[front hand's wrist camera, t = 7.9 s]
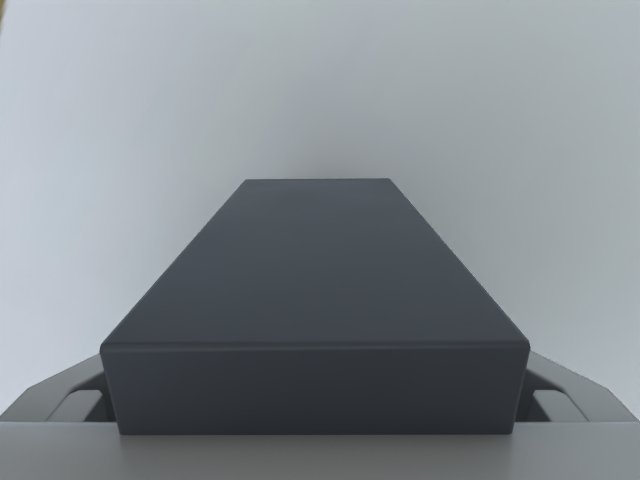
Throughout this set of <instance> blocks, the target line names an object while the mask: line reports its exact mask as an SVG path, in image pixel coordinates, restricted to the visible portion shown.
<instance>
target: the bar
mask: <svg viewBox="0 0 640 480" xmlns="http://www.w3.org/2000/svg"><path fill="white" fill-rule="evenodd" d="M529 353H530V344H529V341H528V339H527V338H526V337H525V336H524V335H523V334H522V332H521V331H520V330H519V329H518V328H517V327H516V325H515V324H514V323H513V322H512V321H511V320H510V318H509V317H508V316H507V315H506V314H505V313H504V311H503V310H502V309H501V308H500V307H499V306H498V304H497V303H496V302H495V301H494V300H493V299H492V297H491V296H490V295H489V294H488V293H487V292H486V290H485V289H484V288H483V287H482V286H481V285H480V283H479V282H478V281H477V280H476V279H475V278H474V276H473V275H472V274H471V273H470V272H469V271H468V269H467V268H466V267H465V266H464V265H463V264H462V262H461V261H460V260H459V259H458V258H457V257H456V255H455V254H454V253H453V252H452V251H451V250H450V248H449V247H448V246H447V245H446V244H445V243H444V241H443V240H442V239H441V238H440V237H439V236H438V234H437V233H436V232H435V231H434V230H433V229H432V227H431V226H430V225H429V224H428V223H427V222H426V220H425V219H424V218H423V217H422V216H421V215H420V213H419V212H418V211H417V210H416V209H415V208H414V206H413V205H412V204H411V203H410V202H409V201H408V199H407V198H406V197H405V196H404V195H403V194H402V192H401V191H400V190H399V189H398V188H397V187H396V185H395V184H394V183H393V182H392V181H391V180H390V179H388V178H383V179H255V180H245V181H244V182H243V183H242V184H241V185H240V187H239V188H238V189H237V190H236V191H235V192H234V193H233V195H232V196H231V197H230V198H229V199H228V200H227V201H226V202H225V204H224V205H223V206H222V207H221V208H220V209H219V210H218V212H217V213H216V214H215V215H214V216H213V217H212V218H211V220H210V221H209V222H208V223H207V224H206V225H205V226H204V228H203V229H202V230H201V231H200V232H199V233H198V234H197V236H196V237H195V238H194V239H193V240H192V241H191V242H190V244H189V245H188V246H187V247H186V248H185V249H184V250H183V251H182V253H181V254H180V255H179V256H178V257H177V258H176V259H175V261H174V262H173V263H172V264H171V265H170V266H169V267H168V269H167V270H166V271H165V272H164V273H163V274H162V275H161V277H160V278H159V279H158V280H157V281H156V282H155V283H154V285H153V286H152V287H151V288H150V289H149V290H148V291H147V293H146V294H145V295H144V296H143V297H142V298H141V299H140V300H139V302H138V303H137V304H136V305H135V306H134V307H133V308H132V310H131V311H130V312H129V313H128V314H127V315H126V316H125V318H124V319H123V320H122V321H121V322H120V323H119V324H118V326H117V327H116V328H115V329H114V330H113V331H112V332H111V334H110V335H109V336H108V337H107V338H106V339H105V340H104V342H103V343H102V344H101V346H100V356H101V360H102V364H103V368H104V373H105V377H106V381H107V385H108V389H109V393H110V397H111V401H112V405H113V409H114V413H115V417H116V421H117V425H118V429H119V433H120V434H121V435H508V434H511V433H512V431H513V427H514V422H515V418H516V413H517V408H518V404H519V399H520V395H521V390H522V385H523V381H524V376H525V372H526V367H527V362H528V358H529Z"/></svg>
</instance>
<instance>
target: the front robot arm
mask: <svg viewBox="0 0 640 480" xmlns="http://www.w3.org/2000/svg"><path fill="white" fill-rule="evenodd" d="M0 480H640V421H639V420H638V419H637V418H636V417H635V416H634V415H633V414H632V413H631V412H630V411H629V410H628V409H627V408H626V407H625V406H624V405H623V404H622V403H621V402H620V401H619V400H618V399H617V398H616V397H615V396H614V395H613V394H612V393H611V392H610V390H609V389H607V388H605V387H603V386H601V385H599V384H597V383H595V382H593V381H591V380H589V379H587V378H585V377H583V376H581V375H579V374H577V373H575V372H573V371H571V370H569V369H567V368H565V367H563V366H561V365H559V364H557V363H555V362H553V361H551V360H549V359H547V358H545V357H543V356H541V355H539V354H537V353H535V352H533V351H531V350H530V353H529V358H528V362H527V367H526V372H525V376H524V381H523V385H522V390H521V395H520V399H519V404H518V408H517V413H516V418H515V422H514V427H513V431H512V433H511V434H508V435H121V434H120V433H119V429H118V425H117V421H116V417H115V413H114V409H113V405H112V401H111V397H110V393H109V389H108V385H107V381H106V377H105V373H104V368H103V364H102V360H101V356H100V353H99V354H97V355H95V356H93V357H91V358H89V359H86V360H84V361H82V362H80V363H78V364H76V365H74V366H72V367H70V368H68V369H66V370H64V371H62V372H60V373H58V374H56V375H54V376H52V377H50V378H48V379H46V380H44V381H42V382H40V383H38V384H36V385H34V386H32V387H30V388H28V389H27V390H26V391H25V392H24V393H23V394H22V395H21V396H20V397H19V398H18V399H17V400H16V401H15V402H14V403H13V404H12V405H11V406H10V407H9V408H8V409H7V410H6V411H5V412H4V413H3V414H2V415H1V416H0Z"/></svg>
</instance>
